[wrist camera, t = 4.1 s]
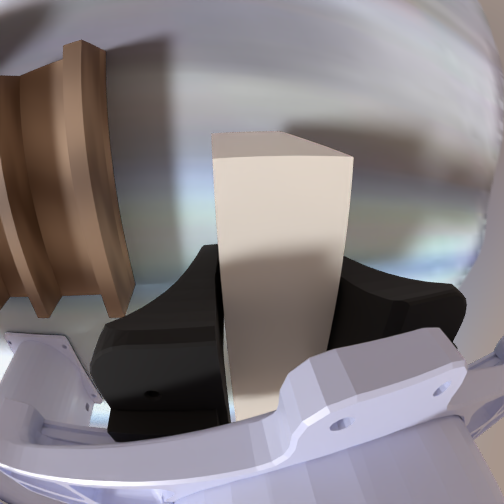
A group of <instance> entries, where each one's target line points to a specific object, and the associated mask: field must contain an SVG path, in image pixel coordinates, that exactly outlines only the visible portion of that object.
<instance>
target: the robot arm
mask: <svg viewBox="0 0 504 504" xmlns="http://www.w3.org/2000/svg"><path fill="white" fill-rule="evenodd" d="M466 306H467V304H466V298H465V297H464V295H463V294H462V293H461V292H460V291H459V290H458V289H457V288H456V287H455V286H453V285H452V284H446V283H434V282H425V281H419V280H413V279H408V278H403V277H399V276H396V275H392V274H388V273H385V272H382V271H379V270H376V269H373V268H370V267H368V266H365V265H363V264H360V263H358V262H356V261H354V260H351V259H349V258H347V257H345V256H343V263H342V269H341V276H340V282H339V288H338V294H337V300H336V305H335V311H334V316H333V321H332V326H331V331H330V336H329V341H328V346H327V350H326V352H323V353H320V354H318V355H315V356H312V357H309V358H308V359H307V360H305V361H304V362H303V363H301V364H300V365H299V366H297V367H296V368H294V369H293V370H292V371H291V372H290V373H288V375H287V377H286V379H285V381H284V383H283V385H282V387H281V388H280V393H279V403H278V407H277V410H274V411H271V412H268V413H264V414H261V415H258V416H254V417H251V418H247V419H244V420H240V421H237V422H233V423H231V420H230V412H229V403H228V395H227V386H226V376H225V367H224V354H223V338H224V309H223V298H222V287H221V275H220V263H219V251H218V244H214V245H204V246H203V247H202V248H201V249H200V251H199V253H198V254H197V256H196V258H195V259H194V261H193V262H192V263H191V265H190V266H189V267H188V269H187V270H186V271H185V272H184V274H183V275H182V276H181V277H180V278H179V279H178V281H177V282H176V283H175V284H174V285H172V286H171V287H170V288H169V289H168V290H167V291H166V292H164V293H163V294H161V295H160V296H159V297H157V298H156V299H155V300H153V301H152V302H150V303H149V304H147V305H145V306H144V307H142V308H140V309H138V310H137V311H135V312H133V313H131V314H129V315H127V316H124V317H122V318H120V319H117V320H115V321H112V322H110V323H107V324H105V326H104V328H103V331H102V333H101V335H100V337H99V339H98V342H97V345H96V348H95V351H94V354H93V357H92V360H91V363H90V374H91V376H92V378H93V381H94V383H95V384H96V386H97V388H98V389H99V391H100V392H101V394H102V396H103V397H104V399H105V400H106V402H107V403H108V405H109V406H110V408H111V411H110V416H109V422H108V428H107V429H106V428H96V427H89V424H90V419H91V415H92V410H93V406H94V403H97V404H101V403H102V398H101V396H100V395H99V393H98V392H97V390H96V389H95V387H94V385H93V384H92V382H91V381H90V379H89V377H88V376H87V374H86V372H85V370H84V369H83V367H82V365H81V363H80V362H79V360H78V358H77V356H76V354H75V353H74V351H73V349H72V347H71V345H70V343H69V341H68V339H67V338H66V337H65V336H61V335H39V334H23V333H10V332H6V333H5V334H4V338H5V340H6V341H7V343H8V345H9V346H10V348H11V350H12V351H13V353H14V356H13V358H12V360H11V362H10V364H9V366H8V368H7V370H6V372H5V374H4V376H3V378H2V380H1V382H0V499H1V500H2V501H4V502H6V503H8V504H504V496H503V494H502V492H501V490H500V488H499V486H498V484H497V482H496V480H495V478H494V476H493V474H492V472H491V470H490V468H489V466H488V465H487V463H486V461H485V459H484V457H483V455H482V454H481V452H480V450H479V448H478V446H477V445H476V443H475V442H474V439H476V438H477V437H478V436H480V435H481V434H482V433H484V432H485V431H486V430H487V429H489V428H490V427H491V426H493V425H494V424H495V423H496V422H497V421H499V420H500V419H501V418H503V417H504V336H503V337H502V338H501V339H500V340H499V342H498V344H497V345H496V347H495V349H494V352H492V353H490V354H488V355H486V356H484V357H482V358H480V359H478V360H477V361H474V362H473V363H470V364H468V365H467V363H466V360H465V359H464V358H463V356H462V355H461V354H460V353H459V351H458V350H457V347H456V345H455V344H454V343H453V340H454V338H455V336H456V334H457V332H458V330H459V328H460V326H461V324H462V322H463V319H464V316H465V313H466ZM0 504H3V503H1V502H0Z"/></svg>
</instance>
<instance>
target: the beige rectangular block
mask: <svg viewBox="0 0 504 504" xmlns="http://www.w3.org/2000/svg"><path fill="white" fill-rule="evenodd" d="M211 138H212V159H213V178H214V195H215V210H216V225H217V239H218V251H219V263H220V275H221V287H222V298H223V309H224V320H225V330H226V339H227V349H228V358H229V367H230V376H231V384H232V392H233V400H234V408H235V416H236V422H237V421H240V420H244V419H247V418H251V417H254V416H258V415H261V414H264V413H268V412H271V411H274V410H277V407H278V403H279V393H280V388H281V387H282V385H283V383H284V381H285V379H286V377H287V375H288V373H290V372H291V371H292V370H293V369H294V368H296V367H297V366H299V365H300V364H301V363H303V362H304V361H305V360H307V359H308V358H309V357H312V356H315V355H318V354H320V353H323V352H326V350H327V346H328V341H329V336H330V331H331V326H332V321H333V316H334V311H335V305H336V300H337V294H338V288H339V282H340V276H341V269H342V263H343V256H344V249H345V241H346V233H347V225H348V216H349V207H350V197H351V186H352V173H353V159H354V157H352V156H350V155H347V154H345V153H342V152H340V151H337V150H334V149H332V148H329V147H326V146H323V145H321V144H318V143H315V142H312V141H309V140H306V139H303V138H300V137H297V136H294V135H291V134H288V133H285V132H281V131H256V132H228V133H211Z"/></svg>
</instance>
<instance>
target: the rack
mask: <svg viewBox="0 0 504 504" xmlns="http://www.w3.org/2000/svg"><path fill="white" fill-rule="evenodd" d="M134 287H135V280H134V276H133V272H132V268H131V264H130V260H129V255H128V251H127V246H126V242H125V237H124V232H123V227H122V222H121V216H120V211H119V205H118V199H117V193H116V187H115V180H114V173H113V165H112V157H111V148H110V138H109V127H108V114H107V97H106V51H104V50H102V49H100V48H98V47H96V46H94V45H92V44H90V43H88V42H86V41H84V40H79V41H76V42H72V43H69V44H67V45H64V46H63V59H62V60H59V61H56V62H53V63H51V64H48V65H45V66H43V67H40V68H38V69H35V70H33V71H30V72H28V73H26V74H23V75H21V76H0V310H1V308H2V307H3V306H4V304H5V303H6V302H7V300H8V299H9V298H10V297H29V299H30V301H31V304H32V306H33V308H34V310H35V312H36V315H37V317H38V318H49V317H50V316H51V314H52V312H53V311H54V309H55V307H56V305H57V304H58V302H59V300H60V299H61V297H62V296H72V295H97V294H101V296H102V298H103V301H104V304H105V307H106V310H107V313H108V315H109V318H120V317H124V316H125V314H126V311H127V308H128V305H129V302H130V299H131V296H132V293H133V290H134Z"/></svg>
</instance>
